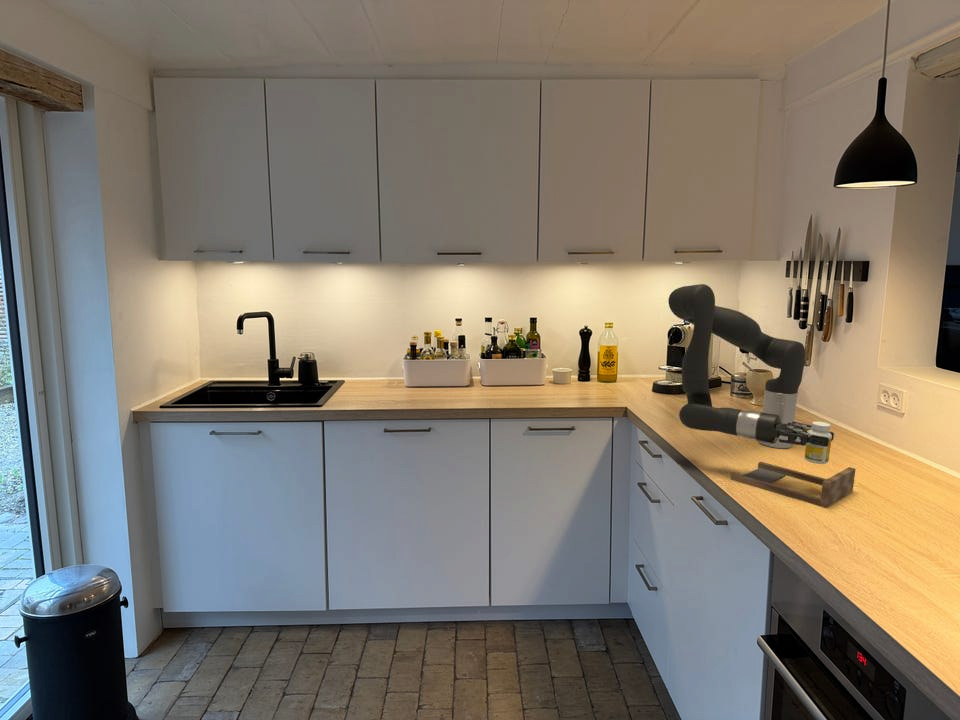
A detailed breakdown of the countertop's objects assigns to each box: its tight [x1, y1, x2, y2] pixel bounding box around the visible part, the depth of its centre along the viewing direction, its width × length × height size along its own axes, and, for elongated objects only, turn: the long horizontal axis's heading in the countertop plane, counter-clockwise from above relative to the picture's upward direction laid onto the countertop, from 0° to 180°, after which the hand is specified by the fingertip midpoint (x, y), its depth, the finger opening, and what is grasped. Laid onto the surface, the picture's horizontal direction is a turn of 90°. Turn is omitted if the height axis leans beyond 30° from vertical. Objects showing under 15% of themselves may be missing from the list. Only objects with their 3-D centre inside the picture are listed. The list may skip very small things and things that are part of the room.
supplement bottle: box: [804, 421, 833, 465], centre depth 154 cm, size 5×5×10 cm
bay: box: [730, 461, 857, 508], centre depth 159 cm, size 17×24×6 cm
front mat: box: [742, 467, 787, 484], centre depth 165 cm, size 12×7×1 cm, turn 131°
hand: (830, 439), depth 152 cm, fingers closed on supplement bottle, 5 cm apart
